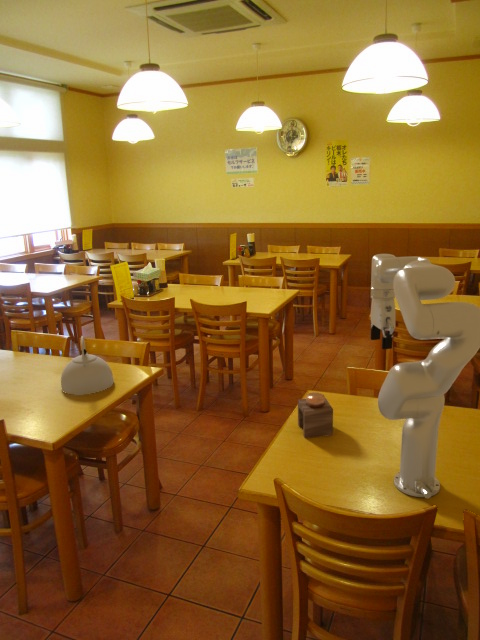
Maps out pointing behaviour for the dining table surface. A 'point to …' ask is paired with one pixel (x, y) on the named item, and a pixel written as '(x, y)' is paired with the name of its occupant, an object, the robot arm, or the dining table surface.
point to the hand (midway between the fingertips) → (380, 344)
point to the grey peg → (315, 400)
